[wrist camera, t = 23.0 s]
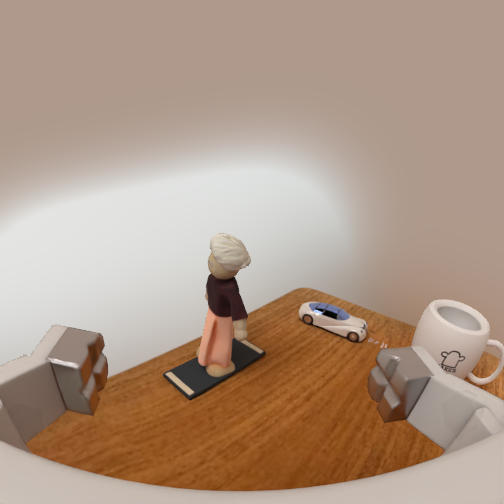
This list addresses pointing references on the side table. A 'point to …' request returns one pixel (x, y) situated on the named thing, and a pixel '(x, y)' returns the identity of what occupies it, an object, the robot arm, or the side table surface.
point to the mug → (456, 338)
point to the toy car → (334, 320)
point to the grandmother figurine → (223, 305)
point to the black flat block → (197, 378)
